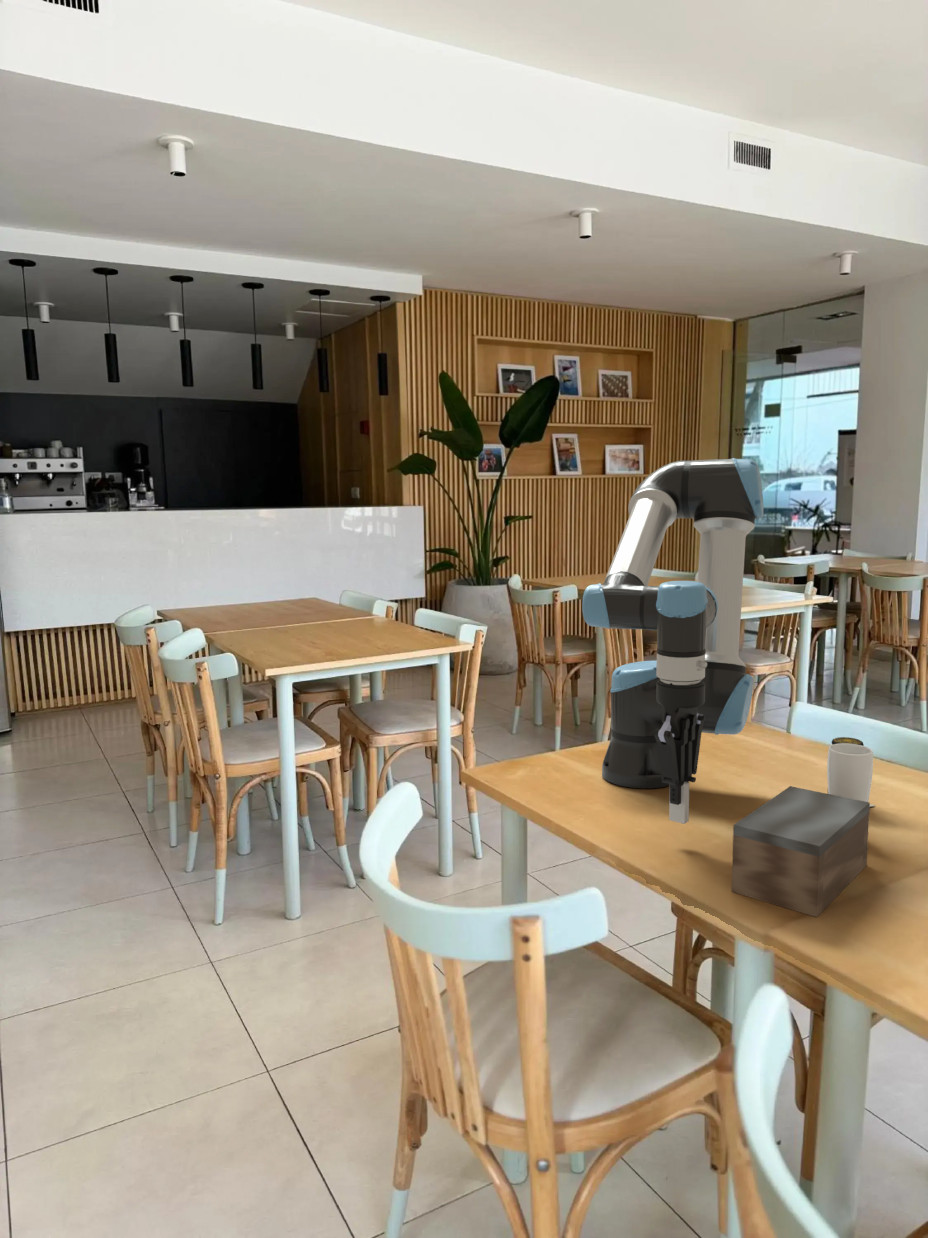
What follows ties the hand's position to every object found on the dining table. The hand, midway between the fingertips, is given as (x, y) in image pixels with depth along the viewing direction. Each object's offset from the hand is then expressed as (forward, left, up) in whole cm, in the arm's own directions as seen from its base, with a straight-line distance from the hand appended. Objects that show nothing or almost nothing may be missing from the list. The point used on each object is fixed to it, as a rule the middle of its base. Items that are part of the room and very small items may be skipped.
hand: (678, 820), depth 141 cm
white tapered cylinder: (+20, +19, -4) cm, 28 cm away
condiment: (+14, +35, -4) cm, 38 cm away
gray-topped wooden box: (+20, -1, -4) cm, 21 cm away
